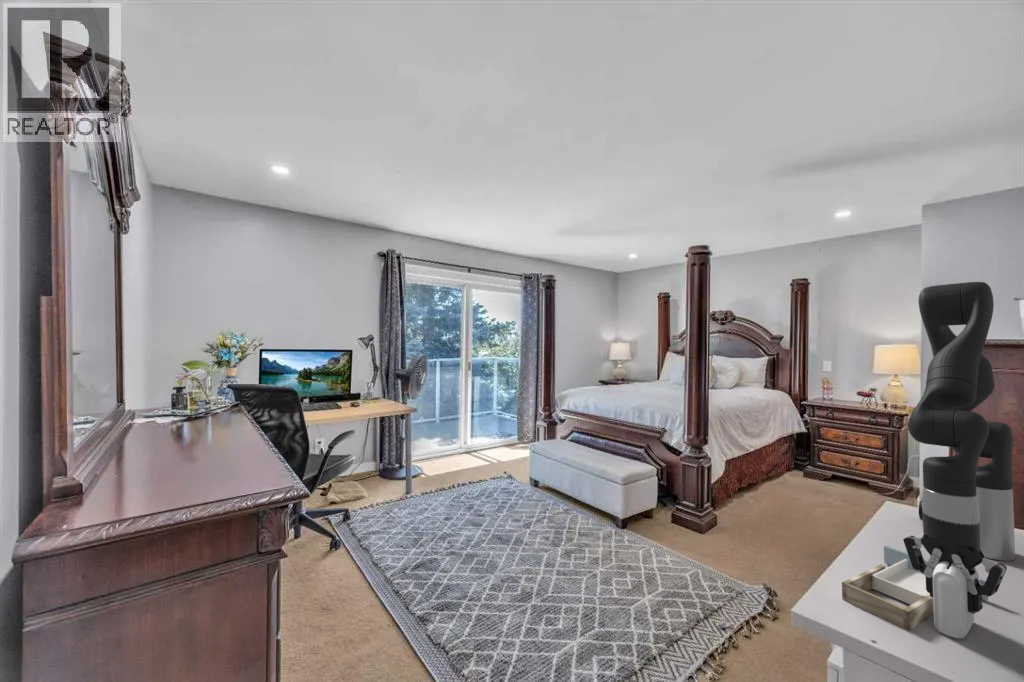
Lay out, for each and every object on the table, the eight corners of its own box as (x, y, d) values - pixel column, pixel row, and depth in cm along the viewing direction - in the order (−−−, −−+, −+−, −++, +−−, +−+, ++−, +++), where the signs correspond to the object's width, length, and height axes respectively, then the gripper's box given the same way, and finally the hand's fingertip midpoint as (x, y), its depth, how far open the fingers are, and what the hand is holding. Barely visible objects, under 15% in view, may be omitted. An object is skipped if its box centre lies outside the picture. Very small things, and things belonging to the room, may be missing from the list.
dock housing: (908, 630, 79) (908, 611, 79) (842, 599, 88) (841, 582, 89) (947, 606, 85) (946, 589, 85) (881, 579, 95) (880, 564, 95)
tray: (953, 622, 80) (952, 601, 80) (850, 578, 95) (849, 561, 95) (988, 599, 86) (987, 579, 87) (886, 561, 102) (886, 545, 102)
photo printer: (945, 609, 84) (943, 548, 84) (977, 621, 80) (974, 556, 80) (931, 630, 78) (928, 564, 78) (964, 643, 75) (961, 574, 75)
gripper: (1014, 524, 75) (1018, 620, 74) (911, 498, 87) (914, 579, 87) (997, 533, 71) (1001, 633, 71) (892, 505, 84) (895, 589, 84)
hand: (953, 603), depth 79 cm, fingers closed on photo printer, 4 cm apart
